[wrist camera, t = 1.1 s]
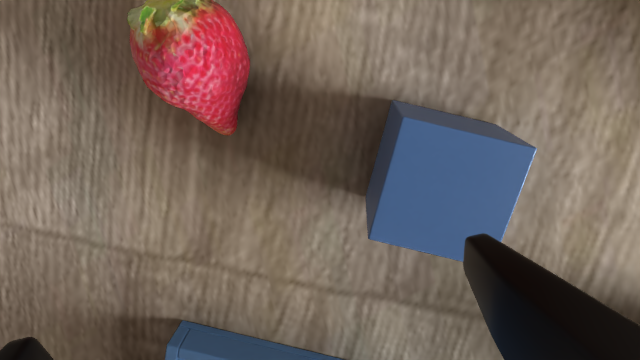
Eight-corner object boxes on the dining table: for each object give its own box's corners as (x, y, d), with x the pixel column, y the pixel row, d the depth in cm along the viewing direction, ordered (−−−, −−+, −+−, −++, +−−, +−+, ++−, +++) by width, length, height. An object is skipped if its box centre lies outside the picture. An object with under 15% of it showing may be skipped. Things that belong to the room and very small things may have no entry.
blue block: (496, 124, 19) (538, 148, 14) (462, 221, 20) (491, 269, 16) (392, 99, 19) (402, 116, 14) (365, 197, 20) (367, 239, 16)
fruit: (183, 139, 20) (129, 169, 15) (145, -2, 18) (71, -18, 14) (275, 123, 19) (249, 149, 15) (244, -23, 18) (203, -48, 13)
